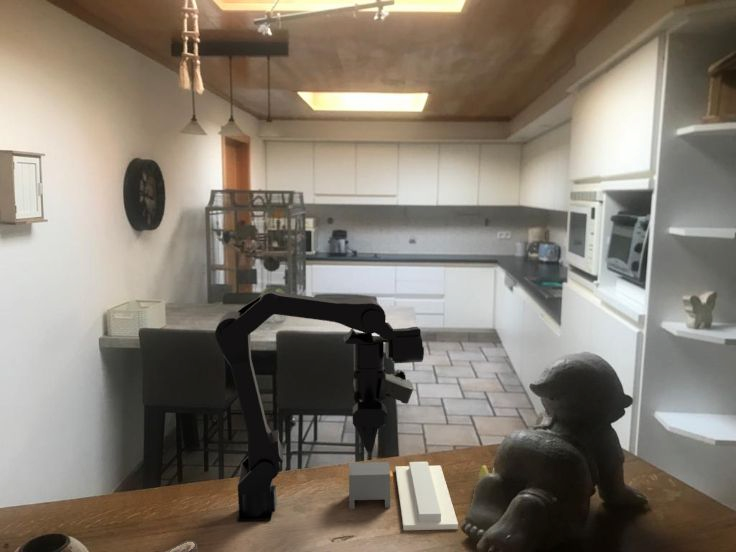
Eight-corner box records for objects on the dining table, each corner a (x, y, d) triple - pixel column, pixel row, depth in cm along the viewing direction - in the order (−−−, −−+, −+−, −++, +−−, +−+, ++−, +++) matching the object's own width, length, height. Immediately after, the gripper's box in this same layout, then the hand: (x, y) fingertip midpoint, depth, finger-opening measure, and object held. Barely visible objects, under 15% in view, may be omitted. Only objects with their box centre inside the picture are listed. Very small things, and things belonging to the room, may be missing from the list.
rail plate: (403, 530, 103) (403, 517, 102) (395, 470, 125) (395, 460, 124) (458, 529, 103) (458, 516, 103) (440, 469, 125) (440, 459, 124)
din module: (349, 508, 110) (348, 475, 109) (349, 494, 115) (349, 462, 114) (393, 507, 110) (393, 474, 109) (391, 493, 115) (391, 461, 114)
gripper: (415, 380, 99) (414, 463, 102) (406, 350, 118) (406, 421, 120) (352, 380, 99) (353, 464, 101) (353, 350, 117) (353, 421, 120)
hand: (369, 440), depth 111 cm, fingers open, 9 cm apart
